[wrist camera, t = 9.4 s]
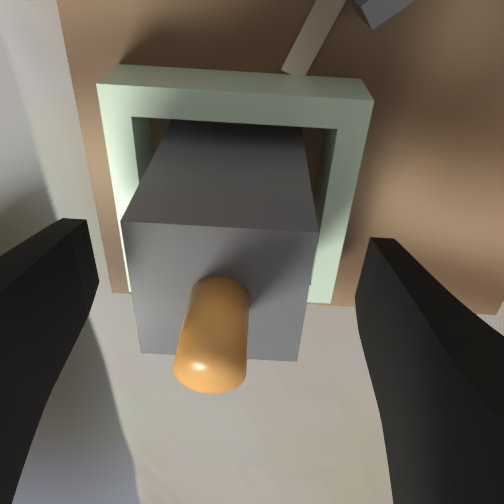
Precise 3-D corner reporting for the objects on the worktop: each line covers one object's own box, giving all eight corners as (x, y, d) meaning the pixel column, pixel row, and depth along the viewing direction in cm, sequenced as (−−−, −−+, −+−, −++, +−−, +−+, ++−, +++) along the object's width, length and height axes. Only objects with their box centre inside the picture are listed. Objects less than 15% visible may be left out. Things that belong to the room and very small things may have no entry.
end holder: (324, 268, 17) (330, 303, 15) (142, 257, 17) (129, 292, 15) (360, 78, 13) (374, 100, 11) (118, 63, 13) (96, 83, 11)
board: (488, 301, 19) (496, 316, 18) (117, 280, 19) (111, 294, 18) (807, -325, 9) (857, -348, 8) (1, -380, 9) (-24, -407, 8)
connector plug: (288, 231, 16) (301, 434, 10) (179, 224, 16) (119, 424, 10) (301, 124, 14) (329, 300, 7) (173, 117, 14) (86, 286, 7)
